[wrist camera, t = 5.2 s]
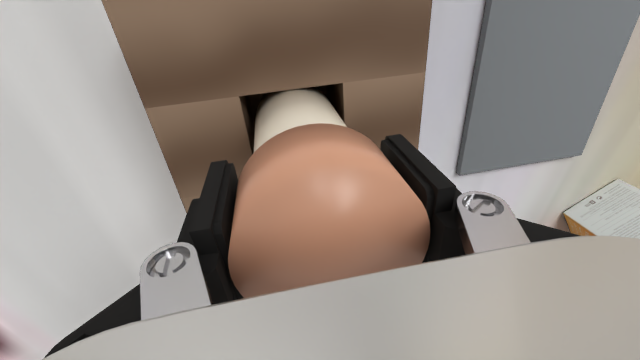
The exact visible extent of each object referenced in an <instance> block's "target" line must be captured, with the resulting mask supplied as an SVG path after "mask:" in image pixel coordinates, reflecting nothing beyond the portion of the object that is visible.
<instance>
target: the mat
mask: <svg viewBox="0 0 640 360" xmlns="http://www.w3.org/2000/svg"><path fill="white" fill-rule="evenodd" d="M639 15H640V0H486V5H485V11H484V17H483V23H482V28H481V34H480V40H479V45H478V51H477V57H476V62H475V68H474V74H473V79H472V85H471V91H470V96H469V102H468V108H467V113H466V119H465V125H464V130H463V136H462V142H461V147H460V153H459V159H458V164H457V170H456V173H457V174H459V175H466V174H472V173H478V172H484V171H490V170H496V169H502V168H508V167H514V166H520V165H526V164H532V163H538V162H544V161H549V160H555V159H561V158H567V157H573V156H579V155H582V152H583V150H584V148H585V145H586V143H587V140H588V138H589V136H590V133H591V131H592V128H593V126H594V124H595V121H596V119H597V116H598V114H599V111H600V109H601V107H602V104H603V102H604V99H605V97H606V95H607V92H608V90H609V87H610V85H611V83H612V80H613V78H614V75H615V73H616V71H617V68H618V66H619V63H620V61H621V58H622V56H623V54H624V51H625V49H626V46H627V44H628V42H629V39H630V37H631V34H632V32H633V30H634V27H635V25H636V22H637V20H638V17H639Z"/></svg>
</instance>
